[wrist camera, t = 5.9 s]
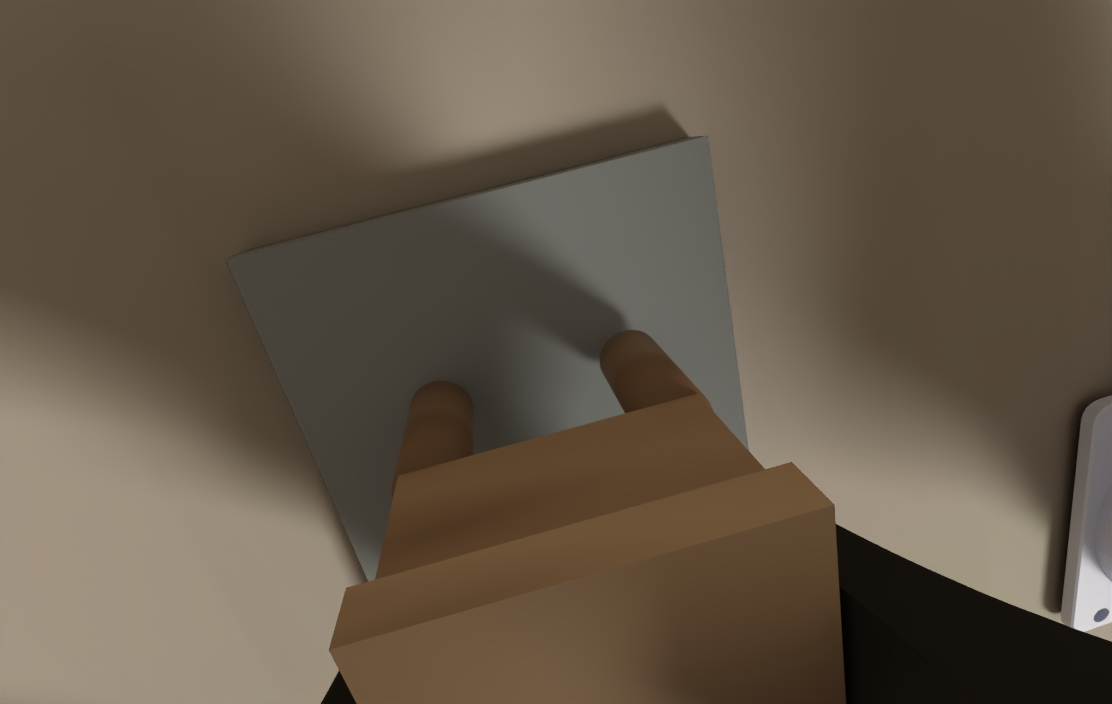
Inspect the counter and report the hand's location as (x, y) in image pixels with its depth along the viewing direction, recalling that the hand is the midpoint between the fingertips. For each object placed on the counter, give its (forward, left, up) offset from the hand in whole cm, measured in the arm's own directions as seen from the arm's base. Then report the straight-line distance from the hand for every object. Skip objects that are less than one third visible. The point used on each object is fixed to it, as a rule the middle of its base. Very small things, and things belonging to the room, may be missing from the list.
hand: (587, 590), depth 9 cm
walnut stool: (0, 0, -3) cm, 3 cm away
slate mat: (0, 0, -4) cm, 4 cm away
